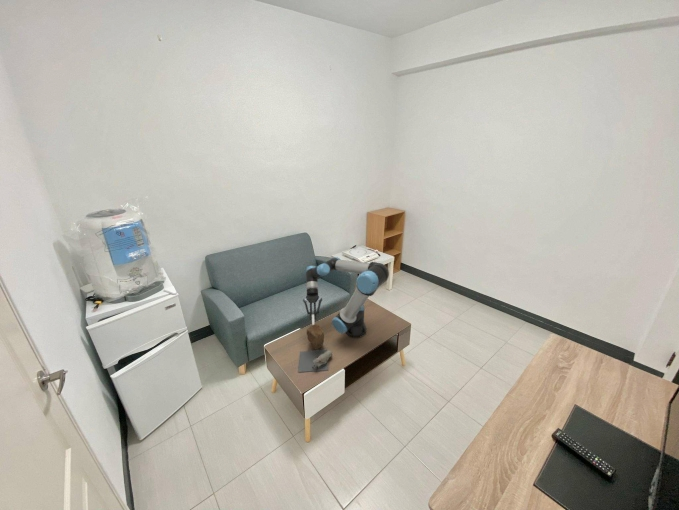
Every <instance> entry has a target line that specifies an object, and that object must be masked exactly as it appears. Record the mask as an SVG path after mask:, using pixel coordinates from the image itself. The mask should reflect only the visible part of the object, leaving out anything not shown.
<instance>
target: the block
mask: <svg viewBox="0 0 679 510" xmlns="http://www.w3.org/2000/svg"><path fill="white" fill-rule="evenodd" d="M306 335H307V340H308V342H309V344H310V345H311V346H312V347H313V348H314V349H315V350H319V349H320V348H321V347H322V346H323V344H324V341H325V336H324V335H325V333H324V330H323V329H322V328H321V327H320V326H319V325H318V324H316V323H315V324H314V325H312V324H311V326H309V327H308V328H307V329H306Z"/></svg>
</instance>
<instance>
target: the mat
mask: <svg viewBox="0 0 679 510" xmlns="http://www.w3.org/2000/svg"><path fill="white" fill-rule="evenodd" d="M326 351H328V349H315V350H303V351H301V350H300V351H299V356H298V357H299V358H298V373H300V374H301V373H310V372H312V373H313V372H325V371H329V360H328V361H327V362H326V363H325V364H322V365H321V366H319V367H318V366H317V365H316V364H315V362H313V360H315V359H316V358H317V357H318V356H319V355H321V354H324V353H325V352H326ZM314 364H315V366H314ZM312 367H313V368H314V369H315V370H314V369H313V368H312ZM317 368H318V369H317ZM316 369H317V371H316Z"/></svg>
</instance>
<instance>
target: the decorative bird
mask: <svg viewBox="0 0 679 510" xmlns="http://www.w3.org/2000/svg"><path fill="white" fill-rule="evenodd" d="M330 357H333V352H332V350H328V349H327V351H326V352H325V353H324V354H321V355H319V356H318V357H317V358H316V359H315V360H313V362H315V364H316V365H317V366H318V367H319V366H321V365H322V364H325V363H326V362H327V361H328V362H329V359H330ZM315 364H314V366H315ZM312 368H313V367H312ZM313 369H314V368H313ZM317 369H318V368H317ZM317 369H316V371H315V372H318V371H317ZM314 370H315V369H314Z"/></svg>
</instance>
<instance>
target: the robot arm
mask: <svg viewBox="0 0 679 510" xmlns="http://www.w3.org/2000/svg"><path fill="white" fill-rule="evenodd" d="M305 271H306V272H305V276H306V277H305V278H306V281H305V282H306V298H303V299H302V301H303V303H304V306H305V311H306V313H307V315H309V319H310V321H311V326H312V325H314V324H316V323H315V321H316V320H317V315H318V314H319V313H320V309H321V303H322V302H323V298H322V297H320V295H319V282H318V279H320V278H321V277H325V276H327V275H328V274H330V273H331V272H333V271H339V272H343V273H345V272H346V273H352V274H356V275H357V274H359V275H358V277H357V278H356V282H355V283H356V284H355V285H356V286H355V287H356V289H355V290H354V292H353V294H352V296H351V297H350V299H349V300H348V302H347V304H346V305H345V307H343V308H341V309H340V310H339V312H338V314H337V315H336V316H334V317H333V318H332V319H331V324H332V326H333V328H334V329H335V330H336V331H337V332H338V333H339V334H346V335H347V336H348V337H351V338H356V339H357V338H362V337H364V336H365V335H366V333H367V326H366V323H365V305H364V304H365V303H366V301H367V300H368V299H369V297H372V296H374V295H375V293H376V291H377V290H378V289H379V287H381V286H382V285H383V284H384V283H385V282H387V281H388V279H389V276H390V271H389V268H388V267H387V266H386V265H385V264H384V263H382V262H376V261H369V262H362V261H356V260H355V261H354V260H353V261H352V260H344V259H341V258H339V257H338V256H335V257H332V258H330V259H328V260H327V261H325V262H322V263H321V264H319V265H317V266H315V265H309V266H308V265H307V267H306V269H305ZM307 302H308V303H309V307H308V303H307ZM317 302H318V303H317ZM317 304H318V305H317Z"/></svg>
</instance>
